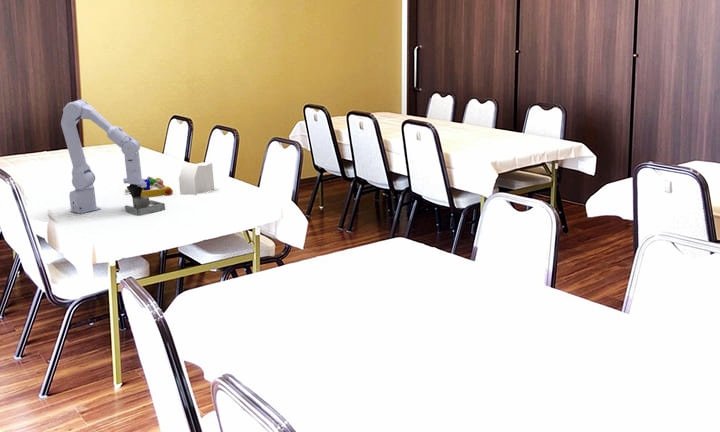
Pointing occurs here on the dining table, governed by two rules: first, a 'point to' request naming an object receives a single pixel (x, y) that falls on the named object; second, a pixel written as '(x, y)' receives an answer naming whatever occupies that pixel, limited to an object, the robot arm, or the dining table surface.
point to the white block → (196, 178)
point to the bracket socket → (146, 208)
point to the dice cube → (140, 202)
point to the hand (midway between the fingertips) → (137, 202)
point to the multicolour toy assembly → (155, 192)
